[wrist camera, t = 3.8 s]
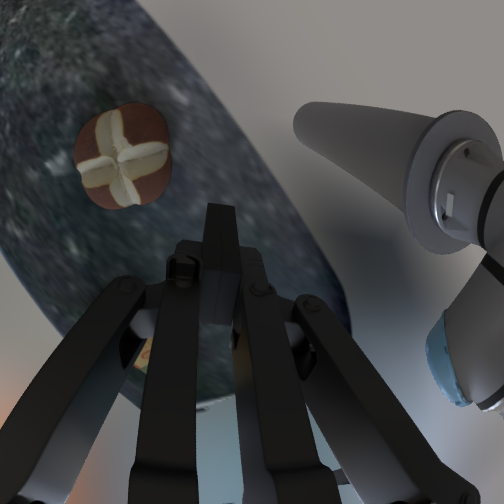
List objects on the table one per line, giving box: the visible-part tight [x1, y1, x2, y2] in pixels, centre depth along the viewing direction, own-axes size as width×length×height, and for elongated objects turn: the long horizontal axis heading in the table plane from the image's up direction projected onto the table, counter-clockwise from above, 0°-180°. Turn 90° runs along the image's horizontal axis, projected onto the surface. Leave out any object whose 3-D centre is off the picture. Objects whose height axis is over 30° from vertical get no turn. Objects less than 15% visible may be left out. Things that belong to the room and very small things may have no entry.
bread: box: [74, 103, 172, 210], centre depth 26 cm, size 11×11×5 cm
